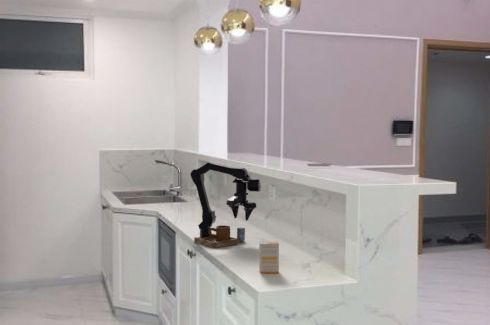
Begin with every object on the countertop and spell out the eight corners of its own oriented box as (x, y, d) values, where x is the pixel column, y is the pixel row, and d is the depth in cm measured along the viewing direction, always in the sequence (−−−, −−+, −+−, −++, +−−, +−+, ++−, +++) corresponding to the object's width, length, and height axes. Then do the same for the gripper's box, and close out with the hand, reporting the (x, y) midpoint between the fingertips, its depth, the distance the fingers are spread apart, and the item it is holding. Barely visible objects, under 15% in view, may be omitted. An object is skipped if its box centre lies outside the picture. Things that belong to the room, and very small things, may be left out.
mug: (210, 246, 292) (210, 228, 292) (206, 243, 299) (206, 226, 299) (232, 245, 296) (232, 227, 296) (227, 242, 303) (227, 225, 303)
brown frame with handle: (194, 241, 302) (194, 228, 301) (227, 236, 317) (227, 224, 317) (215, 247, 288) (215, 234, 288) (249, 241, 304) (249, 228, 303)
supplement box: (277, 270, 246) (278, 241, 246) (278, 273, 242) (279, 243, 241) (258, 270, 246) (259, 241, 245) (259, 273, 241) (260, 243, 240)
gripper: (219, 190, 306) (218, 218, 308) (241, 193, 293) (241, 223, 294) (234, 189, 314) (234, 216, 315) (257, 192, 300) (256, 221, 301)
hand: (241, 219), depth 306 cm, fingers open, 9 cm apart
